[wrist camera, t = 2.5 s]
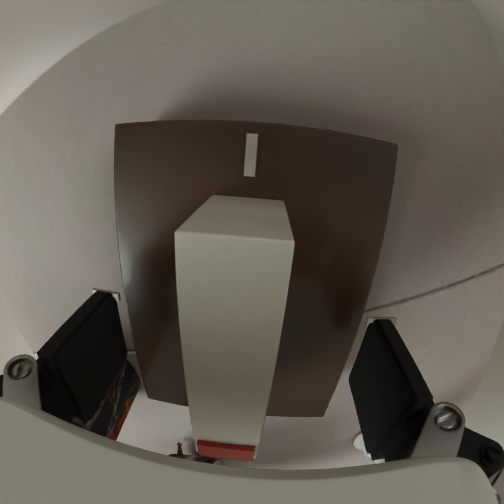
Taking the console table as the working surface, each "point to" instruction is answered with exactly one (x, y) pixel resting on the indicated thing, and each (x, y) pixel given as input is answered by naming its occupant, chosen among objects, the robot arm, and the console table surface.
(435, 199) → the console table surface
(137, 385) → the deodorant
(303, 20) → the console table surface
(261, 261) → the dial
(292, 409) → the panel
